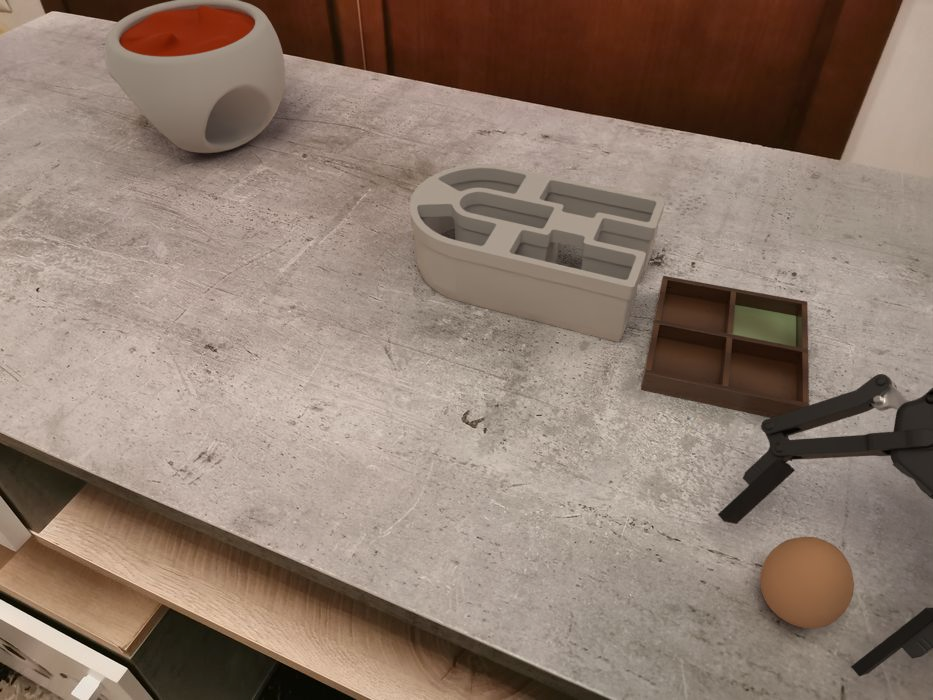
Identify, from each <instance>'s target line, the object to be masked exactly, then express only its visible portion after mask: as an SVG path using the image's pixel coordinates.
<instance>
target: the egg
mask: <svg viewBox="0 0 933 700" xmlns="http://www.w3.org/2000/svg"><path fill="white" fill-rule="evenodd" d="M759 577H760V578H759V582H760V589H761V593H762V596H763V598H764V600H765V602H766V604H767V606H768V607H769V608H770V610H771V611H772V612H773V613H774V614H775V615H776V616H777V617H778V618H780V619H781V620H783V621H785V622H786V623H788V624H790V625H794V626H795V627H797V628H805V629H818V628H822V627H826V626H829V625H831V624H832V623H834V622H836V621H837V620H838V619H839V618H841V617H842V616H843V615H844V614H845V612H847V610H848V608H849V606H850V604H851V602H852V600H853V596H854V593H855V592H854V590H855V580H854V574H853V570H852V566H851V565H850V563H849V560H848V558H847V557H846V556H845V554H844V553H843V552H842V551H841V550H840V549H839V548H838V547H837V546H836V545H835V544H833V543H831V542H830V541H828V540H826V539H823V538H819V537H814V536H799V537H795V538H790V539H785V540H784V541H782V542H781V543H780V544H778V545H777V546H775V547H773V549H772V550H771V551H770V553H769V554H768V555H767V557H766V558H765V560H764V562H763V563H762V566H761V570H760V575H759Z"/></svg>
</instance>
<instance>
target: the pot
mask: <svg viewBox="0 0 933 700" xmlns="http://www.w3.org/2000/svg"><path fill="white" fill-rule="evenodd" d="M104 41H105V42H104V60H105V61H104V62H105V67H106V71H107V73H108V75H109V76H110V77H111V78H112V80H113V81H114V82H115V83H116V84H117V85H118V86H119V88H120V89H121V90H122V92H124V94H125V95H126V96H127V98H128V99H129V100H130V101H131V102H132V103H133V105H134V106H135V107H136V108H137V110H138V111H139V112H140V113H141V114H142V115H143V116H144V117H145V119H146V120H148V122H150V123H151V125H153V127H155V129H157V130H158V131H159V132H160V133H161V134H162V135H163V136H164V137H166V138H167V139H168V140H169V141H170V142H172V143H173V144H174V145H175V146H177V147H178V148H180V149H181V150H183V151H187V152H191V153H199V154H211V153H212V154H214V153H222V152H227V151H230V150H234V149H236V148H239V147H241V146H243V145H245V144H247V143H249V142H251V140H253V139H255V138H256V137H257V136H258V135H260V134H261V133H262V132H263V131H264V130H265V128H266V127H267V126H268V125H269V124H270V122H271V121H272V119H273V118H274V116H275V114H276V113H277V111H278V109H279V106H280V104H281V101H282V98H283V95H284V91H285V84H286V64H285V58H284V53H283V48H282V45H281V41H280V39H279V37H278V34H277V31H276V30H275V28H274V26H273V25H272V23H271V20H269V18H268V16H267V15H266V13H264V12H263V10H261V9H260V8H259V7H257V6H255V5H253V4H251V3H248V2H245V1H243V0H171V1H165V2H161V3H157V4H153V5H151V6H147V7H144V8H142V9H139V10H137V11H135V12H132V13H130V14H128V15H127V16H124V17H123V18H122V19H120V20H119V21H117V22H116V23H115V24H114V25H113V26H112V27H111V28H110V29H109V30H108V32H107V34H106V36H105V40H104Z"/></svg>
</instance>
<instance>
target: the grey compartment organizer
mask: <svg viewBox="0 0 933 700" xmlns="http://www.w3.org/2000/svg"><path fill="white" fill-rule="evenodd" d="M665 205H666V199H665V198H664V197H659V196H653V195H648V194H643V193H639V192H633V191H629V190H624V189H619V188H614V187H610V186H605V185H600V184H594V183H589V182H585V181H580V180H574V179H570V178H565V177H560V176H554V175H549V174H544V173H541V172H534V171H531V170H525V169H520V168H516V167H510V166H507V165H506V166H505V165H500V164H491V163H476V164H475V163H474V164H465V165H459V166H454V167H451V168H448V169H444V170H441V171H439V172H437V173H435V174H433V175H431V176H429V177H428V178H426V179H425V180H423V181H422V182H420V184H419V185H418V186H417V187H416V188H415V190H414V191H413V193H412V194H411V196H410V199H409V218H410V225H411V228H412V234H413V235H412V236H413V246H414V247H413V248H414V258H415V262H416V265H417V267H418V270H419V272H420V274H421V277H422V278H423V280H424V281H425V282H426V284H427V285H428V286H429V287H430V288H431V289H433V291H435V292H437V294H440V295H441V296H443V297H446V298H448V299H450V300H454V301H457V302H461V303H465V304H468V305H473V306H477V307H480V308H484V309H488V310H492V311H496V312H499V313H503V314H507V315H510V316H514V317H519V318H523V319H526V320H530V321H534V322H538V323H542V324H545V325H549V326H553V327H557V328H561V329H565V330H568V331H573V332H577V333H580V334H583V335H584V334H585V335H589V336H593V337H595V338H600V339H604V340H608V341H612V342H615V343H619V342H620V341H621V339H622V338H623V336H624V333H625V330H626V327H627V326H628V322H629V320H630V317H631V313H632V312H633V308H634V305H635V301H636V295H637V291H638V287H639V286H638V285H639V284H640V282H641V281H642V280H643V278H644V276H645V275H646V271H647V268H648V265H649V263H650V260H651V257H652V254H653V252H654V248H655V243H656V238H657V234H658V230H659V224H660V222H661V220H662V216H663V214H664V210H665ZM452 230H454V239H452V238H449V237H447V236H444V235H443V234H445V233H447V232H450V231H452ZM560 244H561V245H566V246H569V247H574V248H578V249H582V251H581V255H582V261H581V269H580V268H576V267H571V266H567V265H562V264H558V256H559V247H560Z"/></svg>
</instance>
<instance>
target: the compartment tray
mask: <svg viewBox="0 0 933 700" xmlns="http://www.w3.org/2000/svg"><path fill="white" fill-rule="evenodd" d="M653 317H654V318H653V321H652V322H653V323H652V327H651V333H650V339H649V344H648V347H647V348H648V349H647V353H646V359H645V364H644V370H643V374H642V380H641V384H640V390H641V391H645V392H650V393H654V394H660V395H665V396H669V397H673V398H678V399H682V400H686V401H687V400H689V401H692V402H697V403H701V404H706V405H711V406H714V407H721V408H725V409H730V410H734V411H738V412H743V413H748V414H753V415H756V416H757V415H758V416H763V417H767V418H772V417H775V416H778V415H781V414H784V413H787V412H791V411H794V410H797V409H800V408H803V407H806V406H809V405H810V372H809V322H808V321H809V320H808V317H809V316H808V301H806V300H800V299H795V298H789V297H785V296H779V295H773V294H767V293H761V292H757V291H751V290H746V289H740V288H734V287H728V286H723V285H718V284H712V283H706V282H701V281H695V280H690V279H685V278H679V277H674V276H668V275H662V279H661V282H660V288H659V291H658V297H657V301H656V307H655V312H654V316H653Z"/></svg>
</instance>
